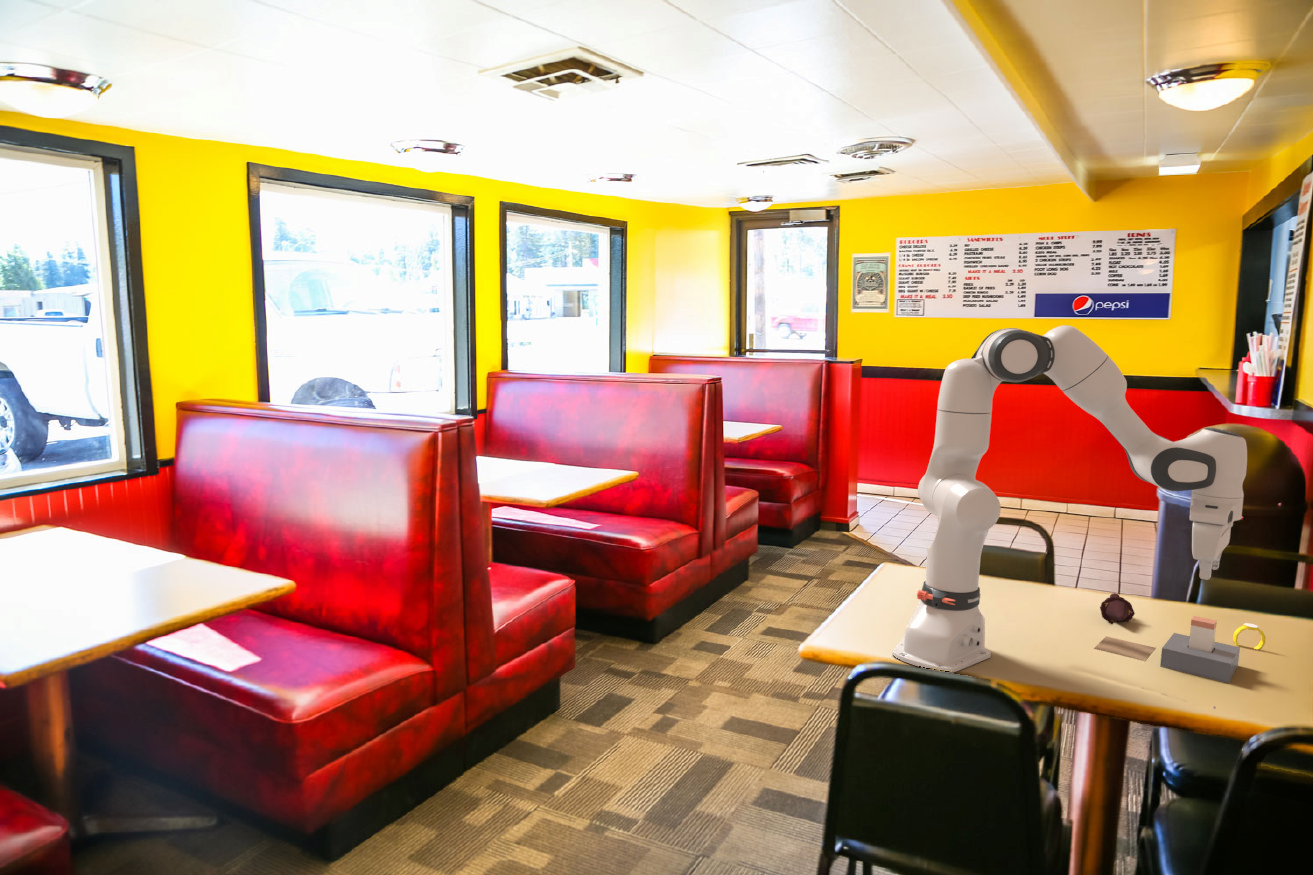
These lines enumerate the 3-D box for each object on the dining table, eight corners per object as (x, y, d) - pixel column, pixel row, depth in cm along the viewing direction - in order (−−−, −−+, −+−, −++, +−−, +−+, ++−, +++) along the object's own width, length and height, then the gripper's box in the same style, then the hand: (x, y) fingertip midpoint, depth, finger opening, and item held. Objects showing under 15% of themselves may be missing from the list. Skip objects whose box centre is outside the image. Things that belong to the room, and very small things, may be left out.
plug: (1209, 670, 174) (1214, 624, 172) (1186, 665, 176) (1191, 619, 175) (1211, 666, 176) (1216, 620, 175) (1189, 661, 179) (1194, 615, 177)
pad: (1144, 665, 178) (1145, 660, 178) (1093, 652, 185) (1093, 648, 185) (1155, 652, 186) (1155, 647, 186) (1105, 640, 192) (1106, 636, 192)
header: (1228, 687, 168) (1230, 663, 167) (1159, 670, 176) (1162, 647, 175) (1237, 669, 177) (1240, 647, 176) (1171, 654, 185) (1174, 632, 184)
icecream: (1144, 609, 195) (1132, 595, 209) (1110, 597, 197) (1100, 585, 211) (1134, 637, 196) (1122, 621, 210) (1100, 625, 198) (1090, 610, 212)
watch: (1258, 650, 189) (1263, 625, 188) (1264, 654, 186) (1270, 629, 185) (1229, 646, 190) (1234, 620, 189) (1235, 650, 187) (1240, 625, 186)
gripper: (1206, 498, 181) (1200, 560, 183) (1188, 513, 166) (1181, 581, 168) (1242, 502, 177) (1235, 566, 179) (1226, 518, 162) (1219, 587, 164)
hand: (1209, 573), depth 173 cm, fingers open, 8 cm apart
